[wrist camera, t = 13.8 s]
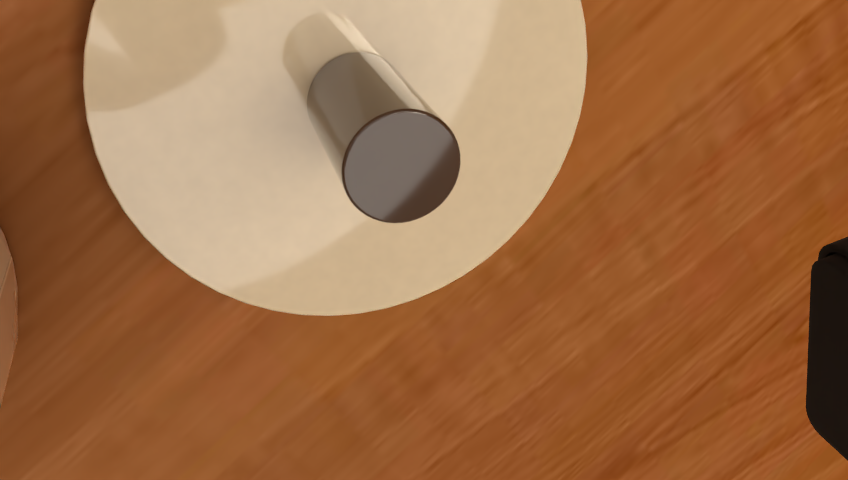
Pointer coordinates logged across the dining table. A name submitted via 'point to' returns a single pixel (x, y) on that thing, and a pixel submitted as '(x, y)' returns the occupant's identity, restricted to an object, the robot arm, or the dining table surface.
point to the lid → (332, 137)
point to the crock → (7, 312)
